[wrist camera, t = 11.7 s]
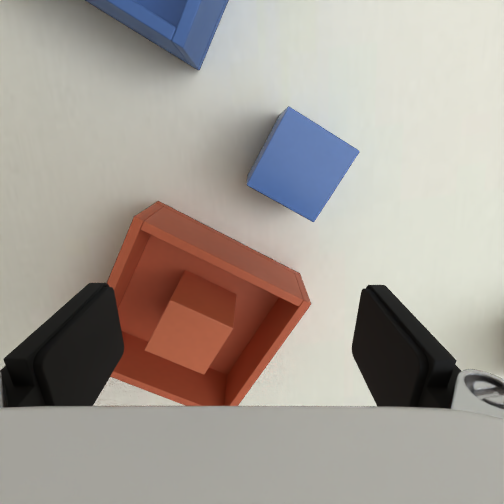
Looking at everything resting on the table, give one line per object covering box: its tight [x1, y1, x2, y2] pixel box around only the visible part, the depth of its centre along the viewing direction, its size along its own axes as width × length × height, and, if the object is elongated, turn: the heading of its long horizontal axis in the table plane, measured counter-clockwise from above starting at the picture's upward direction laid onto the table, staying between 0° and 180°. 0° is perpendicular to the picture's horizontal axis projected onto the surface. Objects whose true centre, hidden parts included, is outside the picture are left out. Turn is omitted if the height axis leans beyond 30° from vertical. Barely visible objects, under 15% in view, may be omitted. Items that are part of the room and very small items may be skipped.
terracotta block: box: [145, 270, 236, 374], centre depth 21 cm, size 4×4×4 cm
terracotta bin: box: [107, 201, 311, 406], centre depth 21 cm, size 12×12×5 cm
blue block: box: [247, 107, 359, 222], centre depth 18 cm, size 4×4×4 cm
